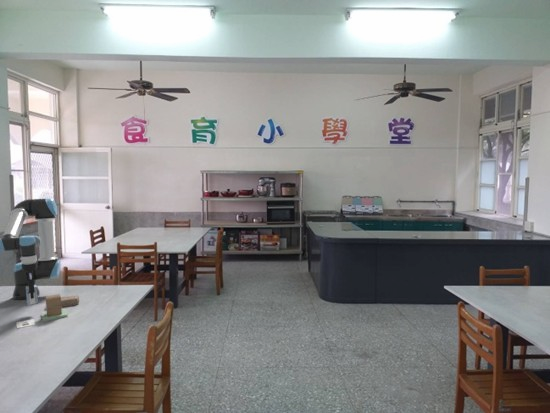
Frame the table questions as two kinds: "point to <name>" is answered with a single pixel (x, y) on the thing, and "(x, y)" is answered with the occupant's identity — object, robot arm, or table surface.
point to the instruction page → (25, 323)
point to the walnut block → (53, 305)
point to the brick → (69, 300)
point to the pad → (46, 318)
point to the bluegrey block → (28, 295)
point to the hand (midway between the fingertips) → (32, 302)
